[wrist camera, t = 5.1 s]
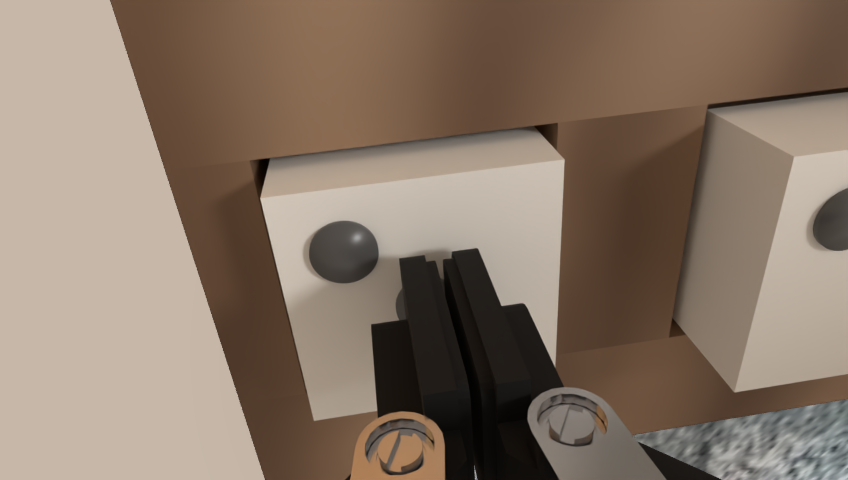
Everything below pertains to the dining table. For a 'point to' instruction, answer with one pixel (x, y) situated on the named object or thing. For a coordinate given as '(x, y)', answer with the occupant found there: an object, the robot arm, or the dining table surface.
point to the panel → (463, 114)
